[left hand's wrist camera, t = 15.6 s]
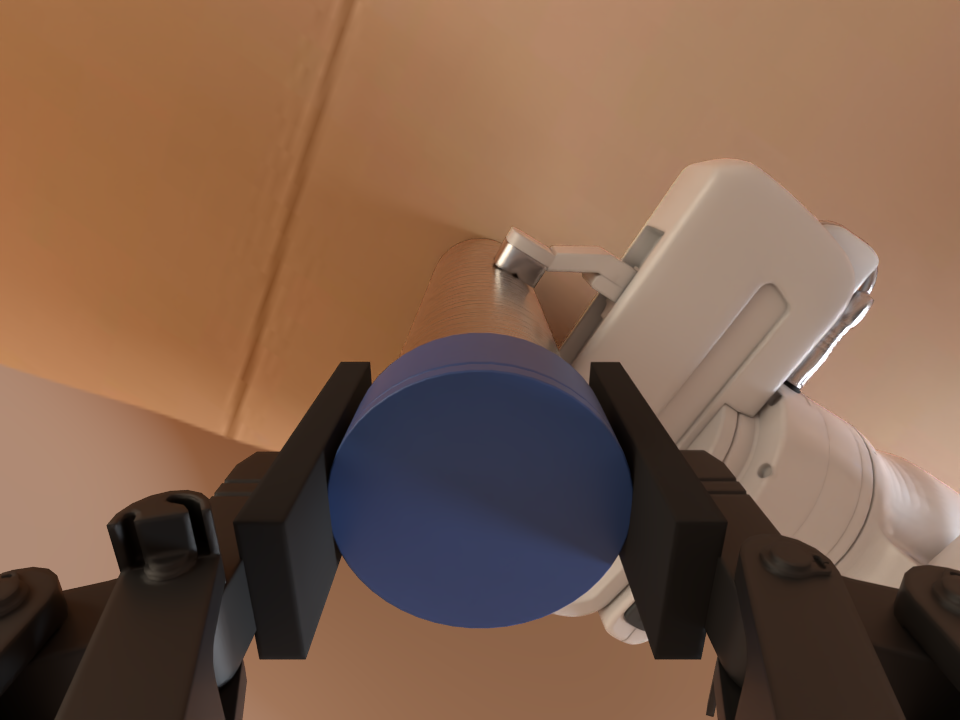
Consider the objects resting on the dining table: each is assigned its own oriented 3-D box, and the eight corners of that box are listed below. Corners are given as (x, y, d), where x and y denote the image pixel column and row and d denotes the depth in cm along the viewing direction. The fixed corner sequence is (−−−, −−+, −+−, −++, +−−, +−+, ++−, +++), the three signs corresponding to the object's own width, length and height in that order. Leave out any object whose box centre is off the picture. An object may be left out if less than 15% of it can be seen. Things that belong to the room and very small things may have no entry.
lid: (391, 294, 11) (370, 325, 9) (651, 380, 12) (688, 428, 10) (325, 519, 13) (296, 587, 11) (551, 582, 14) (564, 657, 11)
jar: (548, 286, 28) (657, 491, 11) (481, 352, 29) (482, 628, 12) (478, 216, 26) (477, 324, 9) (411, 288, 28) (303, 496, 11)
